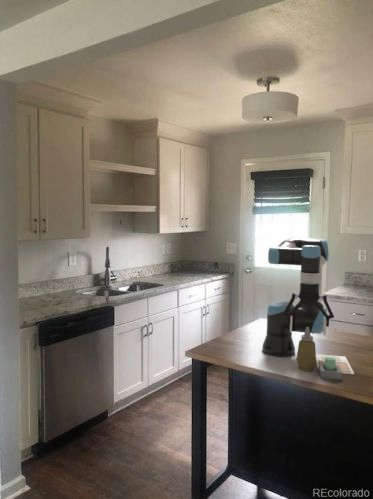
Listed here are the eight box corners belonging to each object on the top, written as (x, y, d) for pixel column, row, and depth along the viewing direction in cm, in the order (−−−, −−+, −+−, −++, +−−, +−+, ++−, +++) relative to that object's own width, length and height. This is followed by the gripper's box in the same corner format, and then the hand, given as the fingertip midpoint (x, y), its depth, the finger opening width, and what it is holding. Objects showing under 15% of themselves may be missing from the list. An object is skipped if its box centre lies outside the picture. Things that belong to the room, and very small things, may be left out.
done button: (325, 372, 171) (325, 360, 170) (323, 369, 175) (324, 357, 174) (336, 373, 170) (336, 361, 170) (334, 369, 174) (335, 358, 174)
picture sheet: (318, 371, 176) (318, 370, 176) (313, 355, 197) (313, 353, 197) (354, 374, 174) (354, 373, 173) (345, 357, 194) (345, 356, 194)
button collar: (320, 377, 169) (320, 370, 169) (318, 370, 177) (318, 363, 177) (341, 379, 168) (341, 372, 168) (338, 372, 176) (338, 365, 175)
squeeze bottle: (312, 365, 183) (313, 325, 181) (318, 372, 175) (320, 330, 173) (293, 365, 183) (295, 324, 181) (299, 372, 175) (301, 330, 173)
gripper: (279, 282, 174) (277, 333, 176) (342, 285, 169) (340, 337, 171) (278, 279, 181) (276, 328, 183) (339, 282, 177) (337, 332, 178)
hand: (307, 332), depth 177 cm, fingers open, 13 cm apart
